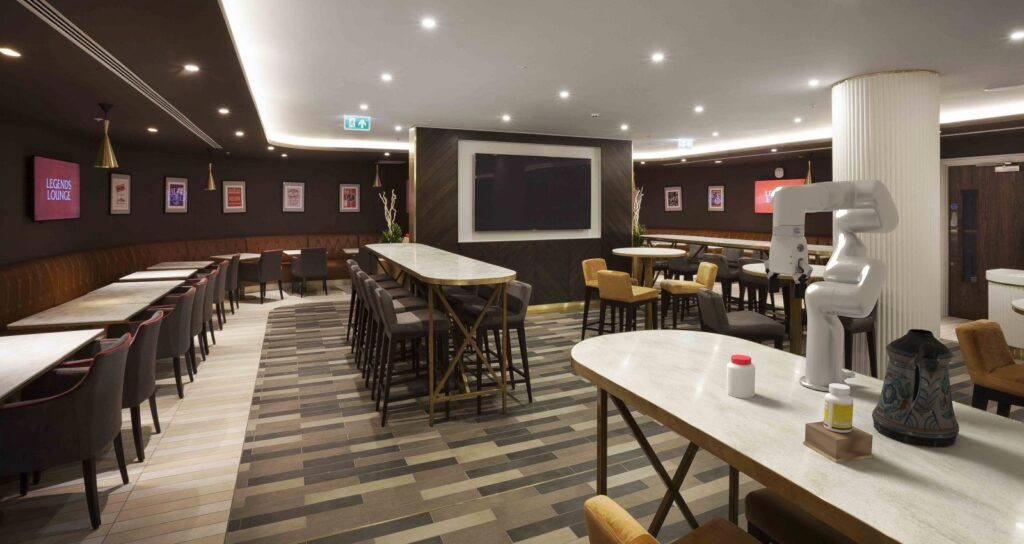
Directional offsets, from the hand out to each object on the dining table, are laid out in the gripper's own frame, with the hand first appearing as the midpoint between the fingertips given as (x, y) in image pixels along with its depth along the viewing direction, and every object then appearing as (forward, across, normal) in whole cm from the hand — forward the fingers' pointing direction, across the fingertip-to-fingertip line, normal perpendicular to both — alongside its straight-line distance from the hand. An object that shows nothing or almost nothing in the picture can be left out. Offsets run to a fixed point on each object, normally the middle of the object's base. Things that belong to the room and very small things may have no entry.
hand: (785, 295), depth 144 cm
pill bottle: (+31, +10, +6) cm, 33 cm away
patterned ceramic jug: (+31, -26, -16) cm, 43 cm away
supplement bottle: (+26, -28, +8) cm, 38 cm away
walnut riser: (+30, -28, +8) cm, 42 cm away
